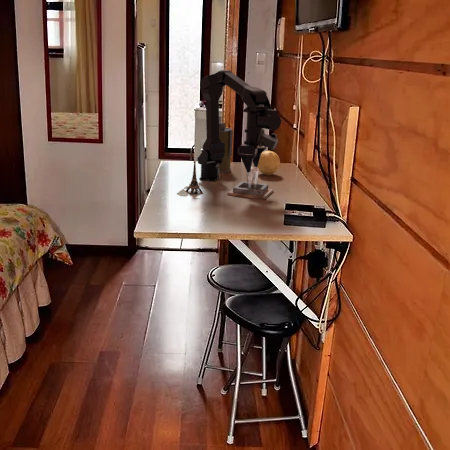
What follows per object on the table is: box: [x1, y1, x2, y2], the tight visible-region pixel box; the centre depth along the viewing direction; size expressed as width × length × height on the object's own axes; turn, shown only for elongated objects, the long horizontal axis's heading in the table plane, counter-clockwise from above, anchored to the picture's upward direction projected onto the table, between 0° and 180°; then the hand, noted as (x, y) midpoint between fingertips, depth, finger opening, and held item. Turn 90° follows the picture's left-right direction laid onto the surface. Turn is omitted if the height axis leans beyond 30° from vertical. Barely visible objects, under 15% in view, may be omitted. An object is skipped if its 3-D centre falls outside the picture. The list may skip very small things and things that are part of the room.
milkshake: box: [246, 165, 260, 190], centre depth 205 cm, size 4×5×10 cm
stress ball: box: [257, 150, 281, 176], centre depth 234 cm, size 10×10×10 cm
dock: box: [226, 181, 274, 200], centre depth 207 cm, size 14×12×3 cm
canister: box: [219, 121, 234, 173], centre depth 238 cm, size 11×10×20 cm
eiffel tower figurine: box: [176, 160, 205, 200], centre depth 203 cm, size 15×10×13 cm
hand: (252, 169), depth 204 cm, fingers open, 9 cm apart
